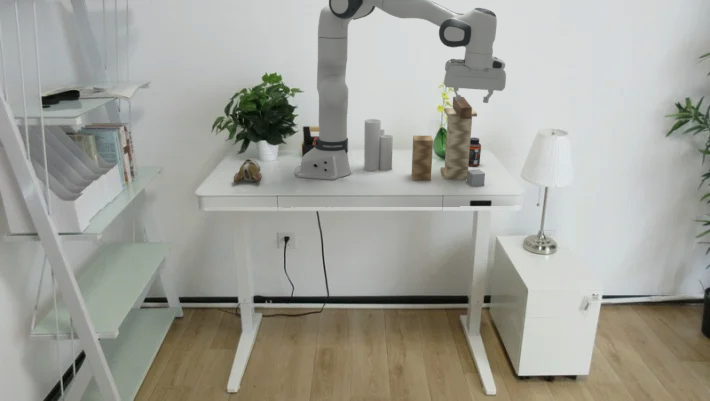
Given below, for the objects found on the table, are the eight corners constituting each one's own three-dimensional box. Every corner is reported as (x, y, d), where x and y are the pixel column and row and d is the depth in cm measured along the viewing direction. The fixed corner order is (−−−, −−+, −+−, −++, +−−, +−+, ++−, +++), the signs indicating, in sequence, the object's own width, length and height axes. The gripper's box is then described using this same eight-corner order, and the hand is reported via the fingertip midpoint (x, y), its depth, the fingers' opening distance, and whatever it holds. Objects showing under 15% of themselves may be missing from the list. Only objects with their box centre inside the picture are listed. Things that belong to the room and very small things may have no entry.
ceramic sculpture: (264, 153, 218) (259, 167, 204) (265, 173, 222) (261, 188, 208) (237, 153, 218) (230, 167, 204) (239, 173, 222) (232, 188, 208)
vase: (365, 171, 224) (365, 123, 217) (363, 165, 231) (363, 119, 223) (392, 170, 225) (394, 122, 218) (389, 164, 232) (390, 118, 225)
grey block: (471, 186, 208) (472, 174, 206) (466, 182, 212) (467, 170, 210) (483, 185, 209) (485, 173, 207) (478, 181, 213) (479, 169, 211)
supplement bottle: (479, 167, 229) (481, 140, 225) (465, 166, 230) (467, 140, 226) (479, 162, 235) (481, 137, 231) (465, 162, 236) (467, 136, 232)
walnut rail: (459, 118, 198) (460, 107, 197) (452, 106, 217) (453, 96, 215) (471, 118, 198) (472, 107, 197) (462, 106, 217) (463, 96, 215)
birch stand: (443, 179, 215) (447, 113, 206) (440, 171, 225) (444, 107, 215) (471, 179, 215) (477, 113, 205) (467, 171, 224) (472, 108, 215)
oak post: (412, 180, 214) (414, 140, 208) (411, 174, 221) (413, 135, 215) (430, 180, 214) (433, 140, 208) (429, 174, 221) (431, 135, 215)
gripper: (447, 60, 179) (442, 101, 185) (510, 64, 179) (502, 106, 185) (445, 56, 185) (440, 97, 191) (506, 60, 185) (499, 101, 190)
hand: (471, 101), depth 188 cm, fingers open, 8 cm apart
